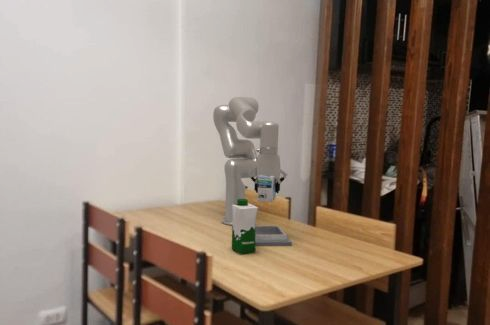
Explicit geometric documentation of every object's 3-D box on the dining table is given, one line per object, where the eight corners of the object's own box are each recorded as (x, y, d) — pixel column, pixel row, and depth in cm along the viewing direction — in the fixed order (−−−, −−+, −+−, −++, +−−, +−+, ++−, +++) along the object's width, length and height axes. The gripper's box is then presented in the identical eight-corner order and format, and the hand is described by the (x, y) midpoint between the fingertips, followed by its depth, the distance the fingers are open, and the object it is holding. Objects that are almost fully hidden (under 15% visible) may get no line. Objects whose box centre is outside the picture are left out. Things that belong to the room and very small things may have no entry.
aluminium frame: (245, 231, 193) (245, 225, 193) (278, 231, 196) (279, 225, 195) (250, 241, 178) (250, 235, 178) (286, 241, 180) (287, 235, 180)
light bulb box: (272, 202, 179) (274, 176, 178) (256, 201, 180) (257, 175, 179) (276, 197, 190) (277, 173, 188) (260, 196, 191) (261, 172, 190)
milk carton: (247, 246, 177) (249, 197, 174) (258, 252, 169) (260, 202, 166) (228, 248, 173) (230, 199, 170) (238, 255, 165) (240, 203, 162)
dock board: (240, 233, 195) (240, 230, 195) (281, 233, 198) (281, 229, 198) (246, 246, 176) (246, 242, 176) (291, 245, 179) (292, 242, 179)
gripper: (249, 152, 178) (248, 194, 180) (290, 152, 180) (289, 194, 182) (246, 150, 185) (245, 190, 187) (286, 151, 188) (284, 191, 190)
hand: (267, 192), depth 185 cm, fingers closed on light bulb box, 8 cm apart
